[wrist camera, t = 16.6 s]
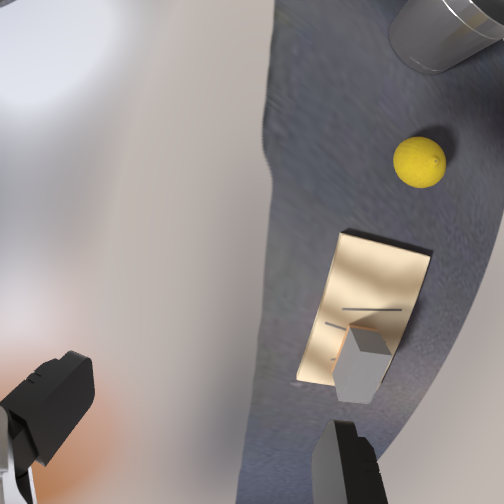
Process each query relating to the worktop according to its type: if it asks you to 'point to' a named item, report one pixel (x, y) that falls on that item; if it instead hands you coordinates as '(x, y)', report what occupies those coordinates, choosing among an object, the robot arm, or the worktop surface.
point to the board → (362, 300)
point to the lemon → (419, 162)
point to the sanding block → (360, 364)
